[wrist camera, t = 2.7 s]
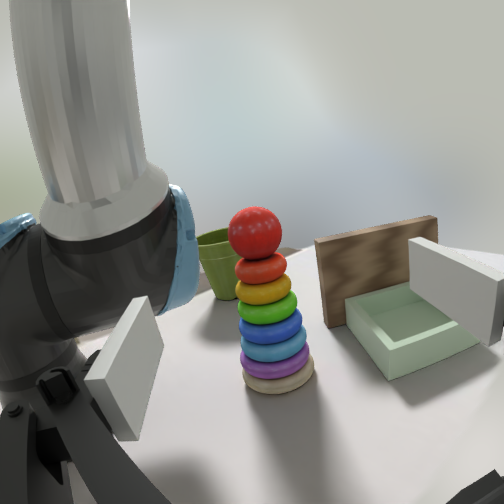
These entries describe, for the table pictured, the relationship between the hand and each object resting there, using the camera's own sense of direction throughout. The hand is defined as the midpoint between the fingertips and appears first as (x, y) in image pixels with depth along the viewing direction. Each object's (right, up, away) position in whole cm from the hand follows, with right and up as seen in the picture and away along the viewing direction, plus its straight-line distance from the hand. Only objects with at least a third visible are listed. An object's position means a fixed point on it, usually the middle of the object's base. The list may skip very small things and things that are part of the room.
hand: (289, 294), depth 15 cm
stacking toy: (+1, -12, +20) cm, 23 cm away
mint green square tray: (+18, -8, +21) cm, 29 cm away
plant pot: (-5, -6, +45) cm, 46 cm away
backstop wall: (+17, -6, +28) cm, 34 cm away
